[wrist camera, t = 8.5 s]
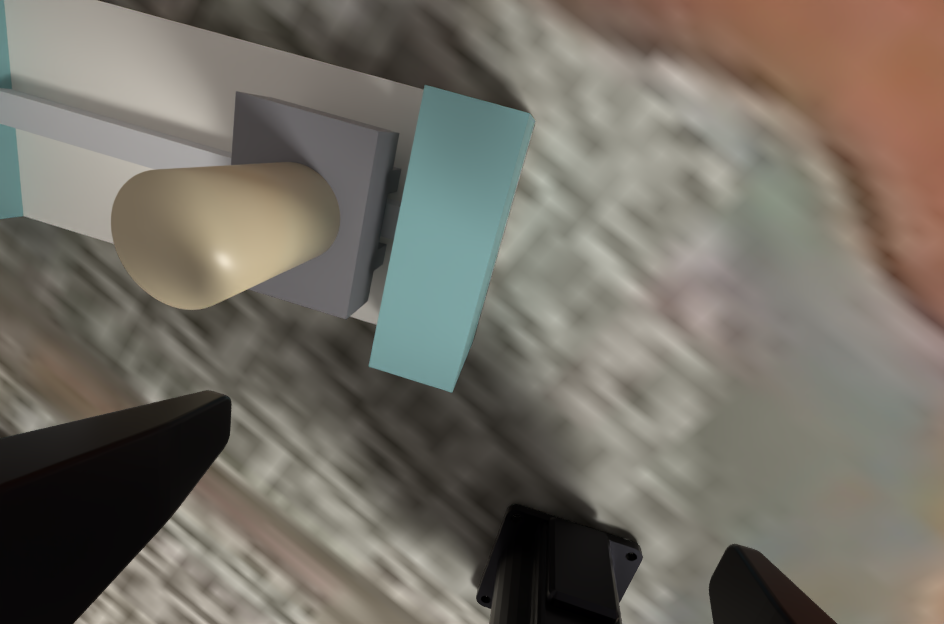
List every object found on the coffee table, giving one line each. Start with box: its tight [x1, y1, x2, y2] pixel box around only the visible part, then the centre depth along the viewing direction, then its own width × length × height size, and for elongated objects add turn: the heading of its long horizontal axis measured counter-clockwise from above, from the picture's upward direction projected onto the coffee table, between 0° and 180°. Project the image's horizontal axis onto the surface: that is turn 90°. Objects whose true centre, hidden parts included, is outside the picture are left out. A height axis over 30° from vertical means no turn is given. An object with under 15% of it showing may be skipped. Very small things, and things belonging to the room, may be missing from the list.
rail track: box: [0, 0, 536, 393], centre depth 17 cm, size 9×23×4 cm, turn 75°
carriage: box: [111, 91, 401, 319], centre depth 14 cm, size 6×4×8 cm
